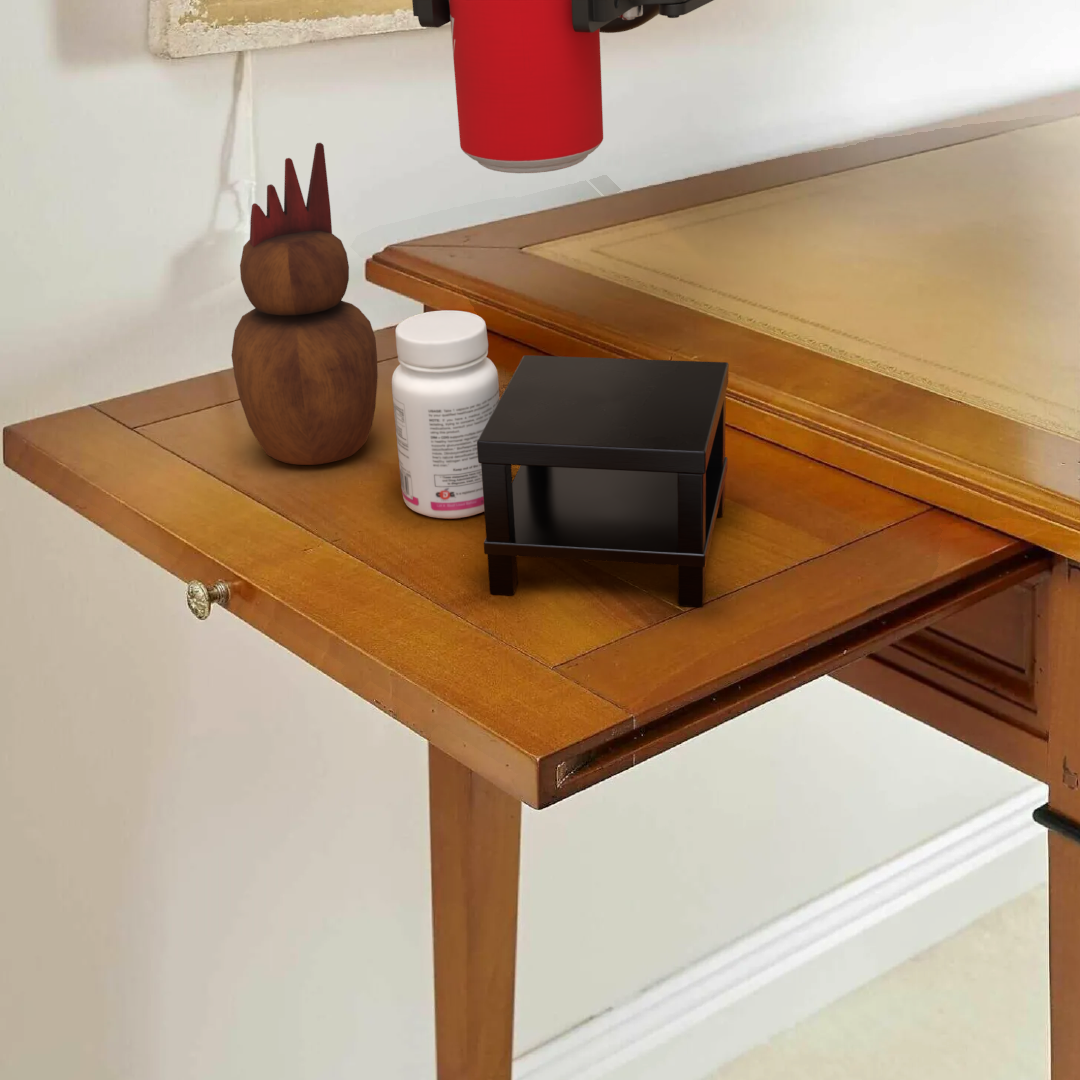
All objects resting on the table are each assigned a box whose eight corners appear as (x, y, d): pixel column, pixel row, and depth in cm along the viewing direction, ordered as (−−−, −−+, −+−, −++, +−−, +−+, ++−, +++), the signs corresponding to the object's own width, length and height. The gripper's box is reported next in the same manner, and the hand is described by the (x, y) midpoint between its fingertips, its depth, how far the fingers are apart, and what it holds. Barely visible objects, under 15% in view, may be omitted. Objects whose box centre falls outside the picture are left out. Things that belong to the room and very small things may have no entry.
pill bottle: (524, 484, 76) (514, 314, 72) (473, 529, 72) (460, 352, 68) (436, 467, 78) (422, 300, 74) (383, 510, 74) (365, 336, 70)
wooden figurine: (386, 423, 83) (357, 128, 76) (384, 473, 78) (353, 162, 71) (252, 432, 83) (211, 137, 75) (241, 482, 78) (196, 171, 70)
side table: (727, 506, 73) (728, 361, 70) (704, 609, 65) (705, 451, 62) (531, 496, 75) (523, 354, 72) (486, 595, 67) (476, 441, 64)
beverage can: (581, 133, 74) (570, -152, 69) (621, 168, 69) (614, -137, 63) (447, 149, 73) (425, -140, 67) (478, 186, 68) (457, -123, 62)
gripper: (493, -147, 80) (332, -96, 66) (780, -150, 75) (671, -95, 61) (502, 11, 83) (351, 90, 70) (777, 19, 79) (672, 105, 65)
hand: (501, 3), depth 66 cm, fingers closed on beverage can, 6 cm apart
